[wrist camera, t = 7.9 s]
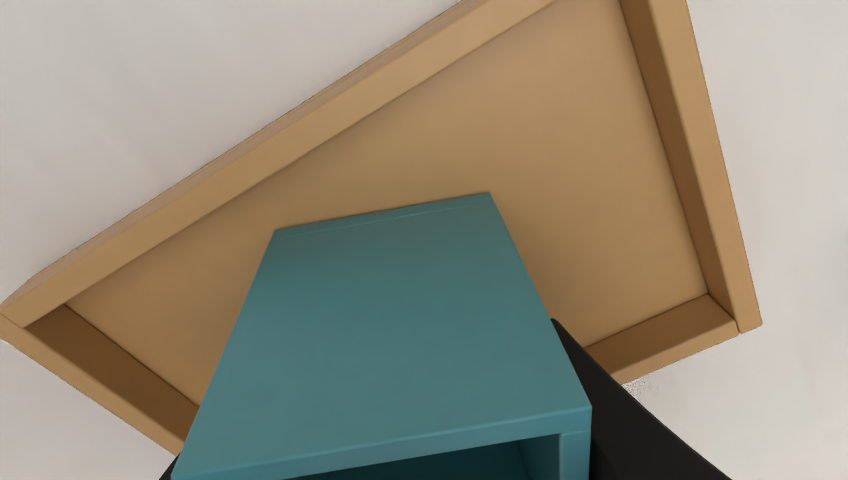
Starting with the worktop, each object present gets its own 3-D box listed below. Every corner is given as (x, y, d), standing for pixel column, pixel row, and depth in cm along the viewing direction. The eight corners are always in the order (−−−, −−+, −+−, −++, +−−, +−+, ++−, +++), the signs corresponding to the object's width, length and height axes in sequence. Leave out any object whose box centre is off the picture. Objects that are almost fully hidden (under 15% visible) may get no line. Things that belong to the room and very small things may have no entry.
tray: (292, 478, 16) (283, 529, 15) (29, 278, 11) (-23, 324, 10) (722, 285, 13) (764, 325, 12) (613, -98, 8) (662, -112, 7)
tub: (330, 380, 13) (295, 648, 8) (273, 228, 11) (167, 478, 5) (504, 350, 13) (584, 601, 8) (490, 191, 10) (593, 406, 5)
